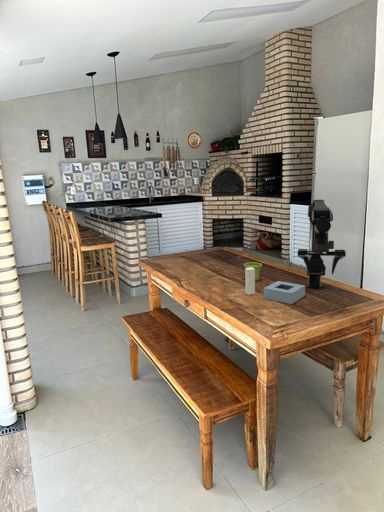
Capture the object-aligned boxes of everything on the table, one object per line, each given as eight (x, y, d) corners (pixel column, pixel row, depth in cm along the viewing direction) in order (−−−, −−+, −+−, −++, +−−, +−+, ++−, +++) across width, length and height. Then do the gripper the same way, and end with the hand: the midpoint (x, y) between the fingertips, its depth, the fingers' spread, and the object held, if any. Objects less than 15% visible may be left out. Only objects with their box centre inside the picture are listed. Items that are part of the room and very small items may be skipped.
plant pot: (262, 277, 214) (262, 262, 212) (260, 282, 206) (260, 266, 204) (245, 277, 217) (245, 261, 215) (243, 281, 208) (243, 266, 206)
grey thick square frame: (277, 290, 191) (277, 280, 190) (304, 295, 182) (305, 285, 181) (263, 298, 181) (263, 288, 180) (291, 304, 172) (291, 293, 171)
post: (252, 292, 191) (252, 267, 188) (254, 294, 187) (254, 269, 185) (245, 292, 190) (245, 267, 187) (247, 294, 187) (247, 269, 184)
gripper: (298, 233, 157) (297, 272, 156) (347, 233, 153) (347, 273, 151) (297, 237, 168) (297, 274, 166) (343, 238, 164) (343, 275, 162)
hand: (320, 274), depth 161 cm, fingers open, 9 cm apart
